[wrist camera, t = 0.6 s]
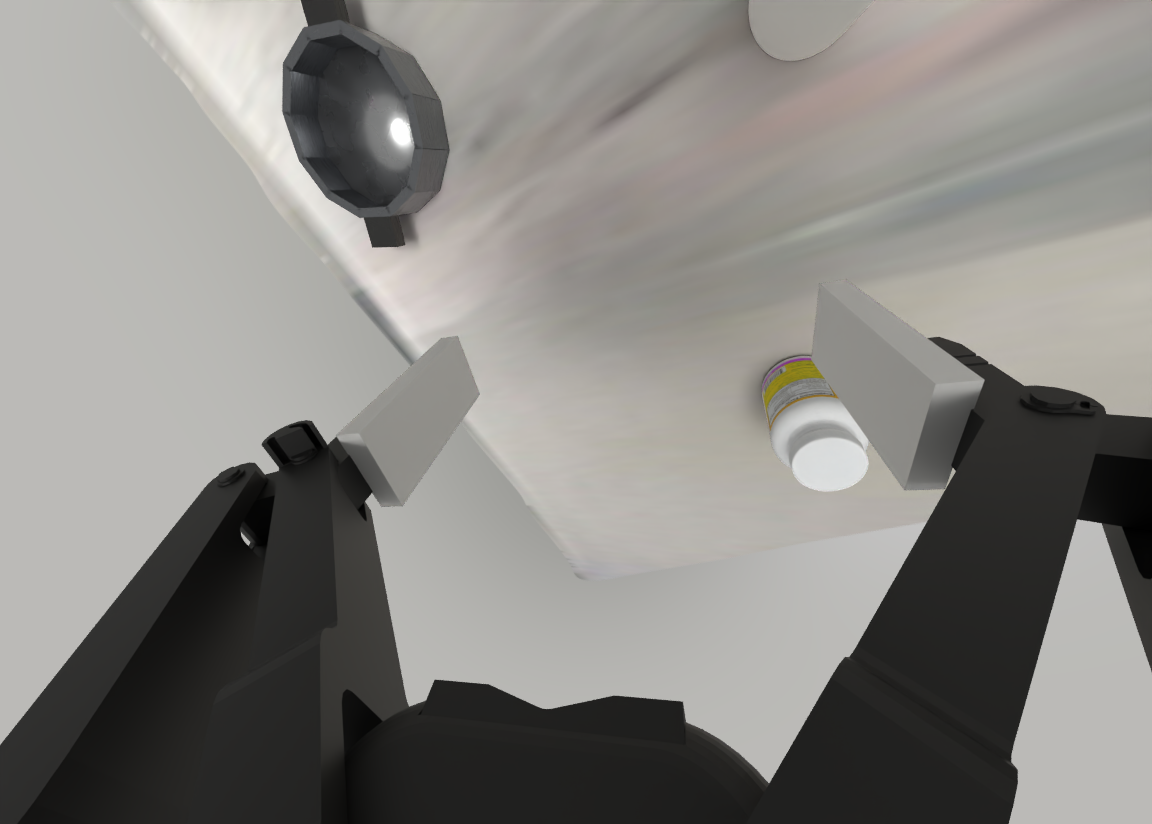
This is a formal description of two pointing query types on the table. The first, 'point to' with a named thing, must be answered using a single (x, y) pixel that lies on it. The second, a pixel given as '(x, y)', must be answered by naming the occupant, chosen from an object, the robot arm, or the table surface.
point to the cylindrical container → (801, 25)
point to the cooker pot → (363, 120)
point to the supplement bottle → (812, 427)
